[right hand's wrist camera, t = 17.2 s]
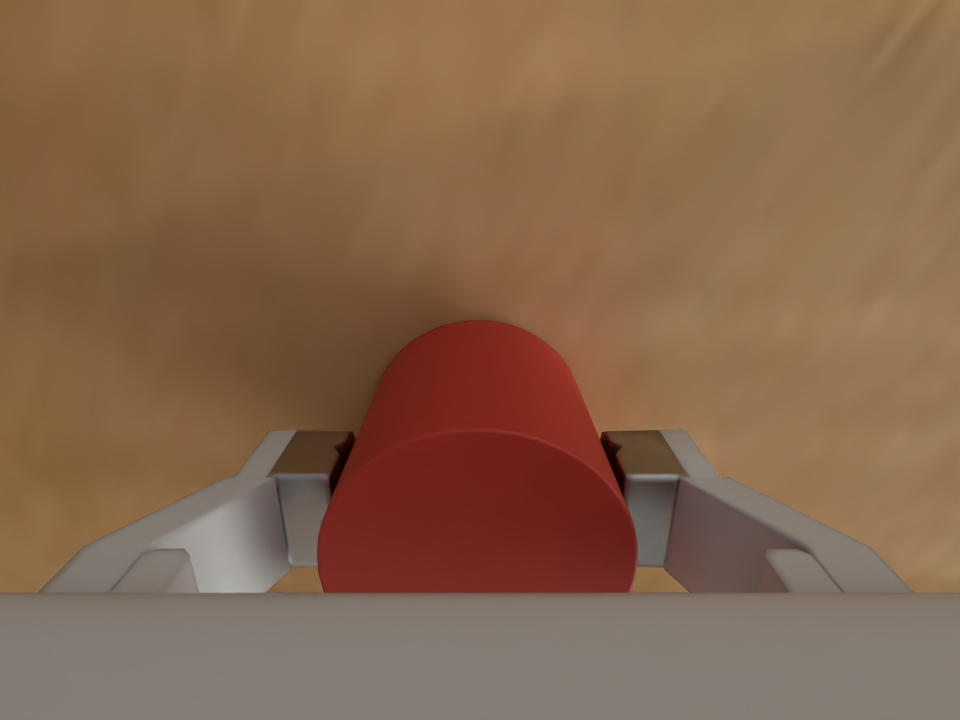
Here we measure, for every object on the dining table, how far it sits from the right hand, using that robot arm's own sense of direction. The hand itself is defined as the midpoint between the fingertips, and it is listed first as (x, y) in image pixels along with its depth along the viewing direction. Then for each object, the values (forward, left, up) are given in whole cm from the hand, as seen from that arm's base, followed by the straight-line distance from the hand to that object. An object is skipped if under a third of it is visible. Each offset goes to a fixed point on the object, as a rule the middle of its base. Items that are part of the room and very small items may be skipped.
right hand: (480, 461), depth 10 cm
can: (0, 0, -2) cm, 2 cm away
